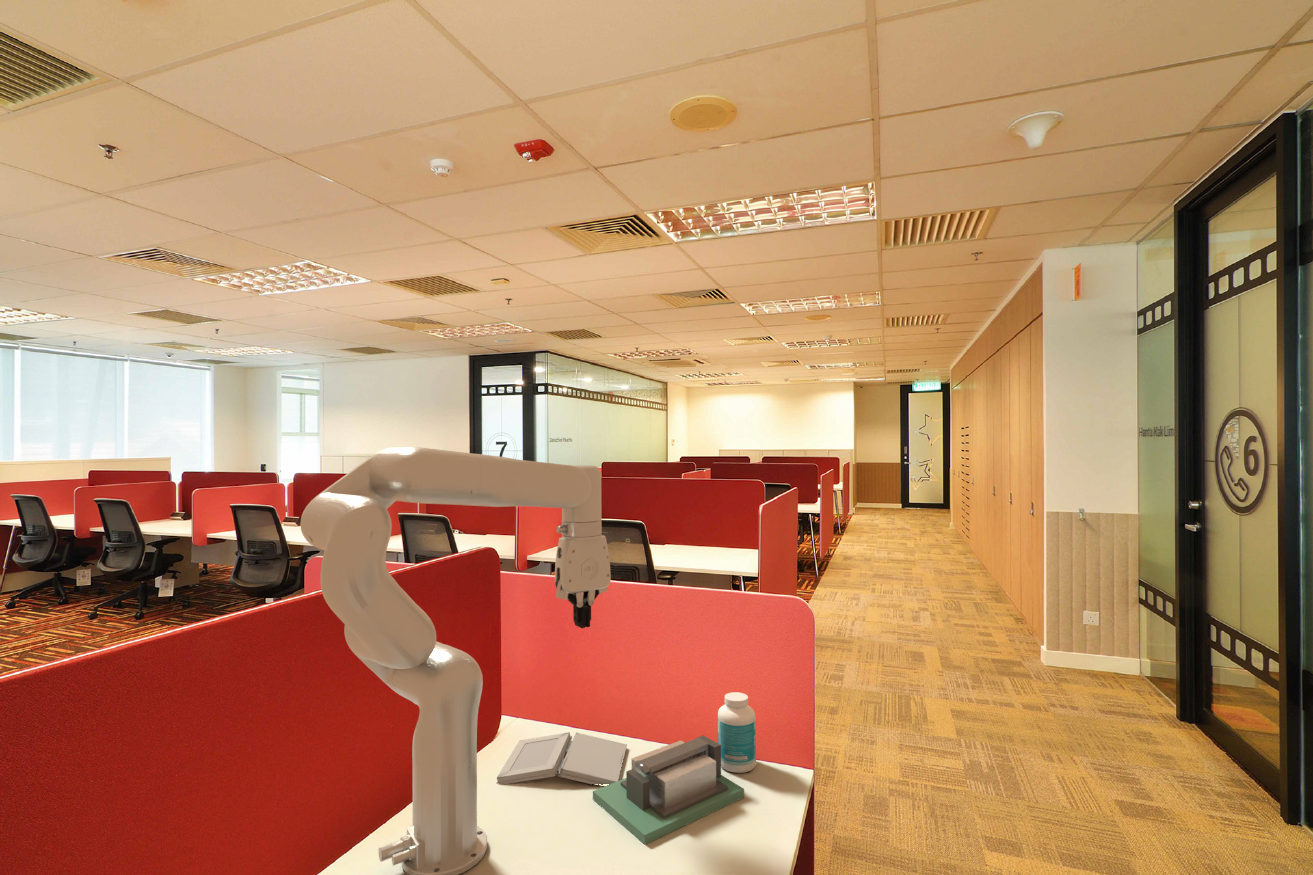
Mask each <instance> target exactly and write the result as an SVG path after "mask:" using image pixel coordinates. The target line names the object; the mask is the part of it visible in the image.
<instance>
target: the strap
mask: <svg viewBox="0 0 1313 875" xmlns="http://www.w3.org/2000/svg"><path fill="white" fill-rule="evenodd" d="M700 752H702V753H703V754H705V755H707V756H708V757H709V743H707V742H705V741H703V740H702V739H700V738H697V737H696V738H694V739H691V740H689V741H686V742H685V743H683V744H681V745H678V746H676V747H673V748H671V749H668V750H665V751H663V752H660V753H658V754H655V755H653V756H650V757H648V758H645V759H643V760H640V761H639V760H638V761H636V763H635V767H636V768H638V769H639V770H640V771H642V772H643V773H645V774H646V775H649V774H650V773H652V772H654V771H657V770H659V769H662V768H664V767H666V766H669V765H671V764H674V763H676V762H679V761H681V760H683V759H686V758H688V757H691V756H693V755H695V754H698V753H700Z"/></svg>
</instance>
